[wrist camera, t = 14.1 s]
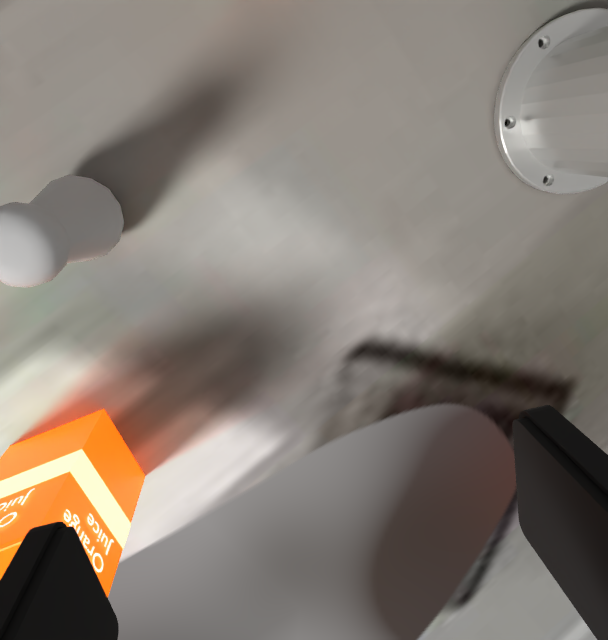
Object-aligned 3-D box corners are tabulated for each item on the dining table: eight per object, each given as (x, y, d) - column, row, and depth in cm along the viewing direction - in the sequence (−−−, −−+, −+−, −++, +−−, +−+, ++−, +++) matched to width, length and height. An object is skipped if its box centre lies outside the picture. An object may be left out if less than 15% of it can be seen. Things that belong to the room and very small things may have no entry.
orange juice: (8, 444, 42) (-184, 685, 24) (104, 406, 42) (-13, 619, 23) (57, 512, 45) (-80, 777, 26) (147, 477, 45) (74, 718, 26)
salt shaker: (31, 200, 36) (-81, 230, 24) (95, 157, 36) (16, 165, 23) (84, 267, 38) (6, 326, 26) (146, 227, 38) (97, 268, 25)
